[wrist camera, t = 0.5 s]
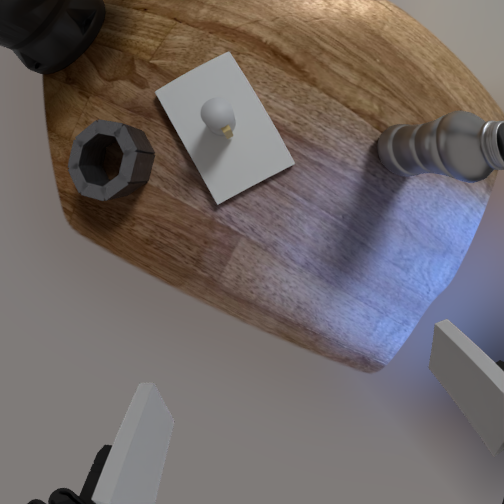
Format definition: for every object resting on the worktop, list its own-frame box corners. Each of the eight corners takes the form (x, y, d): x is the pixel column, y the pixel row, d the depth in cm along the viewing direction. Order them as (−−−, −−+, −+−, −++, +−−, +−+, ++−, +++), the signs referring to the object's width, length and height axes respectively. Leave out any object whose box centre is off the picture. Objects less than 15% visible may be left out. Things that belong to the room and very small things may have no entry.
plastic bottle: (380, 117, 31) (488, 82, 12) (421, 142, 32) (534, 135, 13) (364, 161, 33) (473, 158, 14) (406, 184, 34) (521, 204, 14)
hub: (85, 152, 32) (59, 151, 26) (135, 115, 31) (115, 105, 25) (112, 206, 34) (89, 213, 28) (164, 170, 33) (148, 170, 27)
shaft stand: (157, 94, 31) (136, 76, 23) (229, 55, 29) (225, 28, 22) (218, 203, 34) (210, 211, 27) (293, 164, 33) (305, 161, 26)
